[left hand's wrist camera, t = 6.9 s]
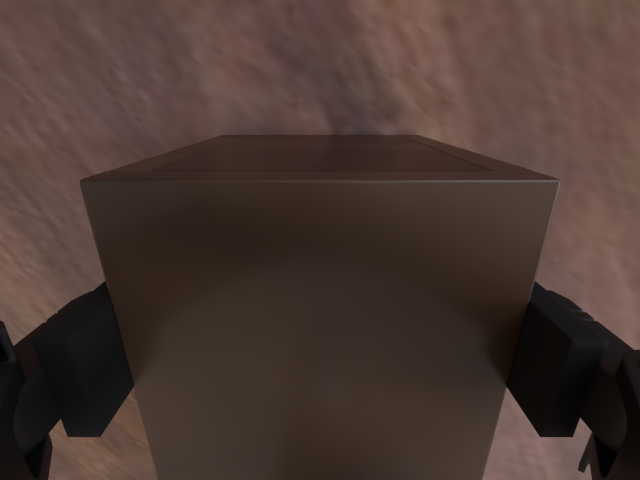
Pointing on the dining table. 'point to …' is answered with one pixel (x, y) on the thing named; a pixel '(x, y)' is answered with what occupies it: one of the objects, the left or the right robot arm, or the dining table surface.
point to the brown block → (320, 302)
